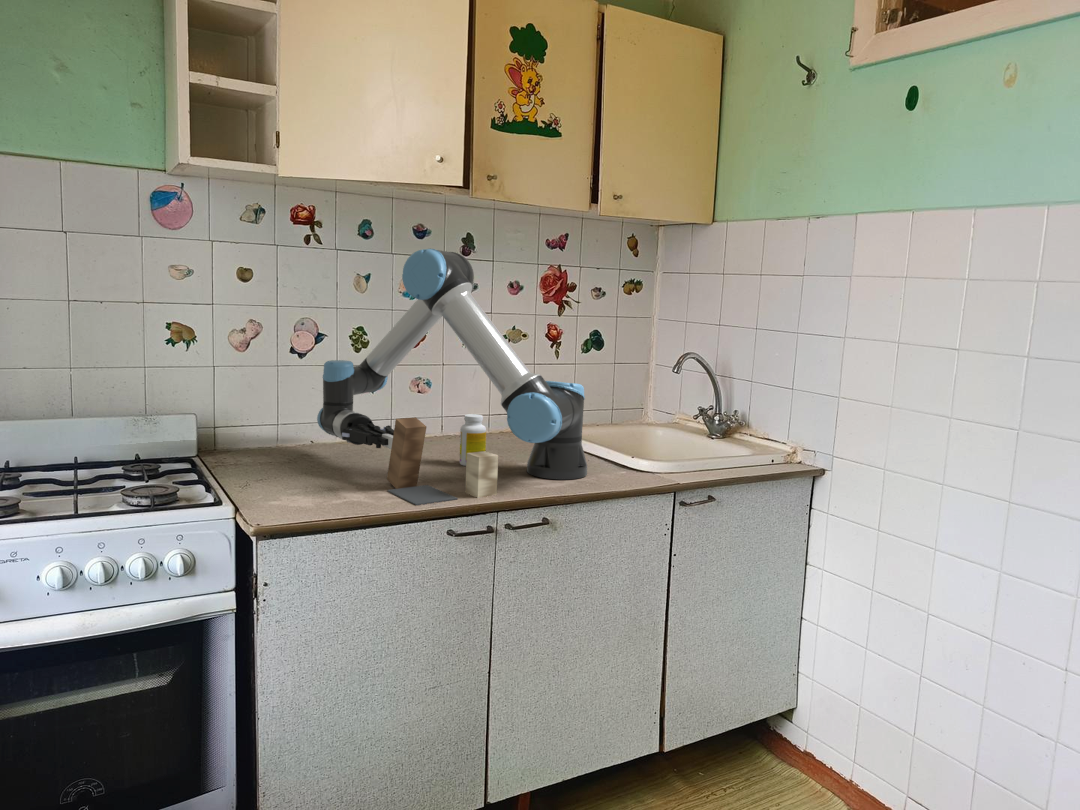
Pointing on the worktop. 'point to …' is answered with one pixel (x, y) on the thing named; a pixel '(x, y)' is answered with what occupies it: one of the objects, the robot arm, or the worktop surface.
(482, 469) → the birch block
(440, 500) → the mat
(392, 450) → the walnut block
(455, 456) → the worktop surface
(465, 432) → the supplement bottle
